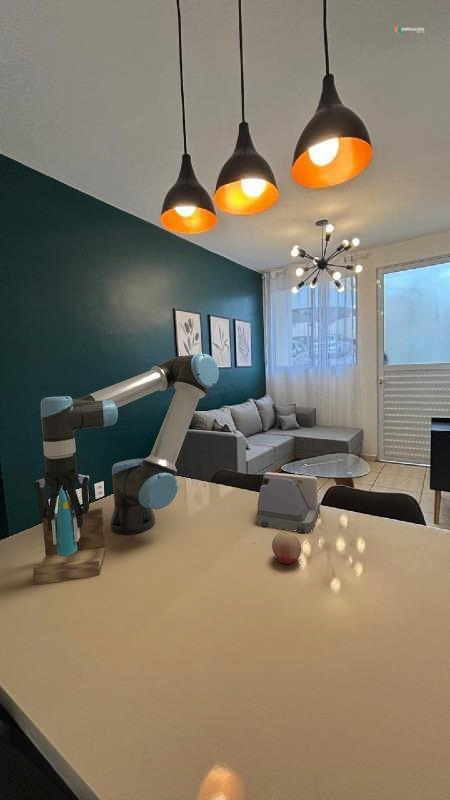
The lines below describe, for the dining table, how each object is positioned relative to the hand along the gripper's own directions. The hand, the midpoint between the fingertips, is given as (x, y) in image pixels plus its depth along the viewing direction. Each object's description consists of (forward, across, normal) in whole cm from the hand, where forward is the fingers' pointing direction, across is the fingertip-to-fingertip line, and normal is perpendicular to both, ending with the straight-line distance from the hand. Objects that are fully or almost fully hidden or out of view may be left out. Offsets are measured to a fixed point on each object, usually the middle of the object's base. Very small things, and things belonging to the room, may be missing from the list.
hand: (67, 540), depth 91 cm
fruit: (+9, -58, +10) cm, 60 cm away
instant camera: (+9, -69, -14) cm, 71 cm away
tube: (+3, 0, 0) cm, 3 cm away
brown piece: (+9, 0, -3) cm, 10 cm away
